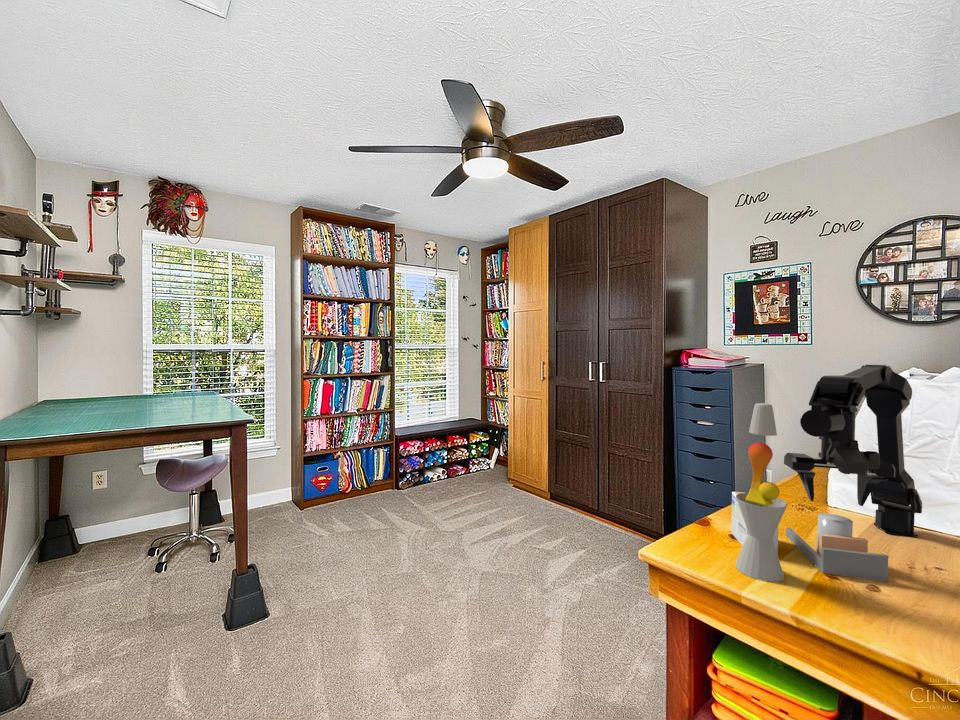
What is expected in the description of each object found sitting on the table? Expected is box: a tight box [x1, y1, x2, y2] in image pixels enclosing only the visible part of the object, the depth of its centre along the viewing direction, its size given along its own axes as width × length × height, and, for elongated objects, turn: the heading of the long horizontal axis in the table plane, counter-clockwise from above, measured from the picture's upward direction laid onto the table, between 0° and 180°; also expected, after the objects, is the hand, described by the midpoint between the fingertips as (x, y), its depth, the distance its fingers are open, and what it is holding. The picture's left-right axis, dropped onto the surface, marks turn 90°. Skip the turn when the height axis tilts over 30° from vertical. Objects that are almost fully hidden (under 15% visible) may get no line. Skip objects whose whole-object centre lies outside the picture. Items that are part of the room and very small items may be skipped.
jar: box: [816, 513, 854, 554], centre depth 98 cm, size 6×6×9 cm
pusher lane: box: [785, 526, 889, 582], centre depth 100 cm, size 11×20×5 cm, turn 164°
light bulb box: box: [730, 491, 779, 555], centre depth 106 cm, size 11×7×11 cm, turn 168°
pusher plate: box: [819, 534, 869, 556], centre depth 95 cm, size 8×1×6 cm, turn 74°
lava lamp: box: [734, 402, 788, 583], centre depth 92 cm, size 9×9×35 cm
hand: (835, 503), depth 98 cm, fingers open, 9 cm apart
